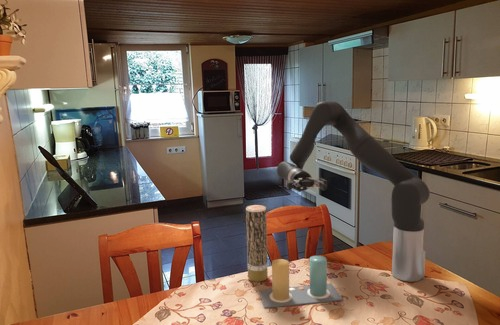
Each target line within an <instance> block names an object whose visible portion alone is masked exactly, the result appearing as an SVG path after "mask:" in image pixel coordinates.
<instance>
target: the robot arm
mask: <svg viewBox="0 0 500 325" xmlns="http://www.w3.org/2000/svg"><path fill="white" fill-rule="evenodd" d="M326 126H327V127H328V126H331V127H333V128H334V129H335V130H337V131H338V132H339V133H340V134H341V135H342V137H343V138H344V140H345V142H346V145H347V147H348V150H349V151H350V153H351V154H352V155H353V156H354V157H355V158H356V159H357V160H358V161H359V162H360V163H361V164H362V165H363V166H365V167H366V168H367V169H369V170H372V172H374V173H377V174H378V175H380V176H381V177H384V178H385V179H387V180H388V181H389V182H390V183H391V184H392V185H393V188H392V191H391V217H392V221H393V231H392V232H393V235H392V236H393V237H392V238H393V240H392V262H391V263H392V264H391V267H392V268H391V274H392V276H393V277H394V278H396V279H397V280H400V281H403V282H411V283H412V282H413V283H414V282H419V281H420V280H422V279H425V270H426V268H425V267H426V251H425V250H424V234H425V232H424V231H425V221H424V219H423V218H421V206H422V205H423V204H424V203H427V201H428V200H429V198H430V194H431V193H430V188H429V187H428V185H427V184H426V182H424V181H423V179H421V178H420V177H418V176H417V175H416V174H415V173H413V172H412V171H410V170H409V169H408V168H406V167H405V166H404V165H403V164H402V163H400V162H399V160H397V159H396V158H395V157H394V156H393V155H392V154H391V153H390V152H389V151H388V150H387V149H386V148H385V147H384V146H382V144H381V143H379V141H378V140H376V138H374V137H373V136H372V135H371V134H369V132H368V131H366V130H365V128H363V127H362V126H361V125H360V124H359V123H357V122H356V121H355V119H354V118H353V117H352V116H351V115H350V114H349V113H348V111H347V110H346V109H345V108H344V107H343V106H342V105H341V104H340V103H338V102H337V101H333V100H331V101H329V100H328V101H325V100H324V101H320V102H317V103H316V104H315V106H313V109H312V110H311V114H310V115H309V119H308V121H307V123H306V125H305V128H304V130H303V132H302V134H301V137H300V138H299V141H298V142H297V143H296V145H295V147H294V148H293V150H292V151H291V154H290V155H289V159H290V161H291V162H292V163H291V162H288V161H281V162H280V163H278V166H277V168H276V173H277V176H278V177H280V178H281V179H283V180H285V187H286V189H287V190H288V191H292V190H294V191H297V192H300V193H301V192H303V191H304V192H305V191H307V190H308V189H314V190H315V189H320V190H322V191H326V189H327V188H328V180H326V179H324V178H322V177H319V178H312V175H311V174H310V173H309V172H307V171H306V170H304V166H305V164H306V162H307V161H308V160H309V158H310V156H311V155H312V153H313V151H314V149H315V144H316V138H317V137H318V135H319V134H320V132H321V131H322V130H323V129H324V127H326Z"/></svg>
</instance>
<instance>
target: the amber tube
mask: <svg viewBox="0 0 500 325" xmlns="http://www.w3.org/2000/svg"><path fill="white" fill-rule="evenodd" d="M271 281H272V282H271V285H272V286H271V287H272V288H271V289H272V296H273V298H274V299H275V300H279V301H284V300H287V299H288V298H289V287H290V262H289V260H287V259H282V258H277V259H274V260H272V261H271Z"/></svg>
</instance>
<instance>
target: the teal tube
mask: <svg viewBox="0 0 500 325" xmlns="http://www.w3.org/2000/svg"><path fill="white" fill-rule="evenodd" d="M327 261H328V259H327V258H326V257H325V256H323V255H312V256H310V257H309V285H310V294H311V295H313V296H317V297H322V296H325V295H326V294H327V284H328V282H327V280H328V279H327V278H328V276H327V274H328V273H327V272H328V269H327V268H328V267H327V266H328V262H327Z"/></svg>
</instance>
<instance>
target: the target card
mask: <svg viewBox="0 0 500 325" xmlns="http://www.w3.org/2000/svg"><path fill="white" fill-rule="evenodd" d="M258 291H259V295H260V298H261V301H262V304H263V308H264V309H272V308H282V307H291V306H299V305H300V306H301V305H311V304H320V303H322V304H323V303H330V302H340V301H342V302H343V301H344V298H343V297H342V295H341V294H340V293H339V291H338V290H337V289H336V287H335V286H334V285H333V284H332V282H330V283H329V282H328V283H327V294H326V295H325V296H322V297H317V296H313V295H311V294H310V284H309V285H298V286H289V298H288V299H287V300H284V301H279V300H275V299H274V298H273V296H272V288H266V289H259V290H258Z"/></svg>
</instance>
